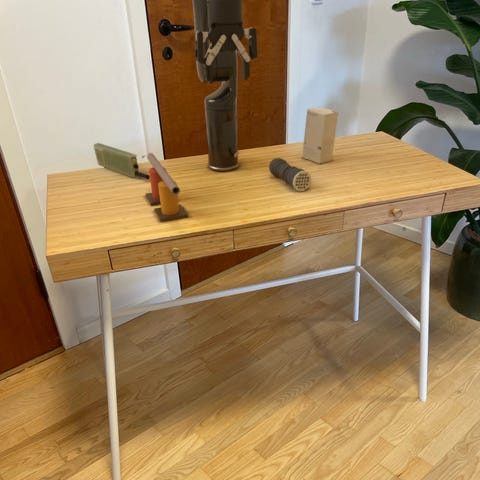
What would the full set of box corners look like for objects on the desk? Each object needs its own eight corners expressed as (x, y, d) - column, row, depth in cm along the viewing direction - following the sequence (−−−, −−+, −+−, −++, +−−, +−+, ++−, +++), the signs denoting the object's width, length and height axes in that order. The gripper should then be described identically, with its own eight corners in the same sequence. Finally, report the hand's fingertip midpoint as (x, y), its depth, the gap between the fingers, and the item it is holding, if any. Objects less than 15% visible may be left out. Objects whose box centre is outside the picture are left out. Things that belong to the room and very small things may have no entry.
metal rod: (172, 195, 105) (171, 187, 104) (147, 160, 125) (146, 153, 124) (180, 194, 106) (179, 185, 104) (154, 159, 126) (153, 152, 125)
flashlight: (266, 176, 137) (267, 157, 133) (282, 172, 138) (283, 154, 135) (293, 192, 125) (294, 173, 122) (310, 189, 127) (311, 169, 124)
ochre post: (154, 211, 118) (149, 180, 113) (180, 206, 120) (177, 176, 115) (160, 222, 113) (156, 190, 108) (188, 217, 114) (184, 185, 110)
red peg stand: (145, 196, 126) (141, 167, 121) (170, 192, 128) (167, 163, 123) (151, 205, 121) (146, 175, 116) (176, 201, 123) (173, 171, 118)
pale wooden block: (301, 158, 149) (304, 108, 140) (315, 154, 152) (318, 105, 143) (320, 164, 144) (324, 113, 135) (333, 160, 146) (338, 110, 138)
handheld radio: (105, 162, 150) (153, 179, 136) (96, 165, 148) (144, 183, 134) (100, 141, 146) (149, 157, 132) (91, 144, 144) (140, 160, 130)
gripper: (249, -5, 103) (249, 76, 112) (187, -3, 99) (193, 81, 108) (262, -4, 97) (261, 81, 107) (197, -2, 93) (203, 87, 103)
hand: (227, 81), depth 108 cm, fingers open, 8 cm apart
